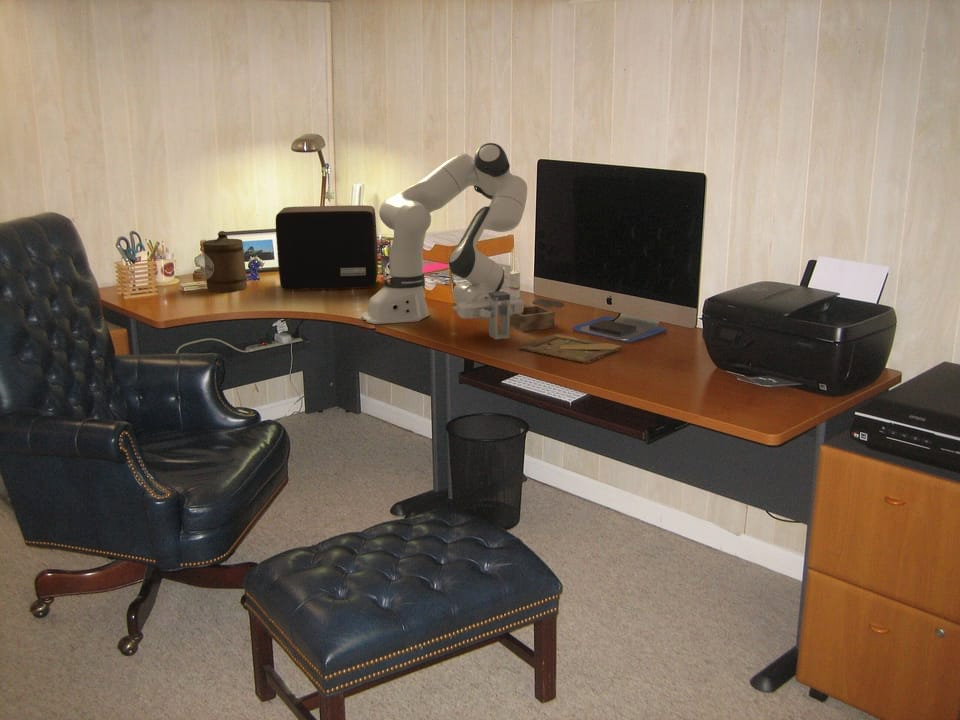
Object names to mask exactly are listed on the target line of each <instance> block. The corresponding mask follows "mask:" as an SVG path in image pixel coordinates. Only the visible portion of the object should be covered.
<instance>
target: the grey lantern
mask: <svg viewBox="0 0 960 720" xmlns="http://www.w3.org/2000/svg"><path fill="white" fill-rule="evenodd" d="M498 301H501V315H500V331H499V316H498ZM489 311H493V317H492V318H488V337H491V338H493V339H494V340H502V339H510V337H511V336H510V327H511V326H510V294H508V293H506V292H504V291H500V292H490V293H489Z"/></svg>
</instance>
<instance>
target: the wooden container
mask: <svg viewBox="0 0 960 720" xmlns="http://www.w3.org/2000/svg"><path fill="white" fill-rule="evenodd" d="M217 236H218V237H217V238H216V239H209V240H205V241H203V242H202V245H203V246H202V247H203V256H204V257H203V258H204V267H205V269H204V270H205V279H206V288H207V290H208V291H209V292H213V293H230V292H231V293H232V292H238V291H239V292H240V291H241V290H243V291H244V290H245V289H246V288H248V283H247V270H246V263H245V255H244V242H243V240H242V239H239V238H229V237H227V236H228V233H227V231H224V230H221V231H220V230H219V231H218V232H217Z"/></svg>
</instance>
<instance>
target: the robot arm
mask: <svg viewBox="0 0 960 720" xmlns="http://www.w3.org/2000/svg"><path fill="white" fill-rule="evenodd" d="M475 151H476V152H475V154H474V158H473V157H472V156H471V155H469V154H468V153H459V154H457V155H455V156H453V157H451V158H450V159H448V160H446V161H445V162H443V163H442V164H441V165H440V166H438V167H437V168H436V169H433V171H431V172H430V173H429V174H428V175H426V176H425V177H424V178H423V179H421V180H420V181H419V182H417V183H415V184H413V185H411V186H409V187H407V188H406V189H404V190H401V191H400V192H399V193H397V194H396V195H393V196H392V197H390V198H386V199H385V200H384V201H382V203H380V207H379V211H378V214H379V219H380V220H381V221H382V223H383V224H384V225H385V226H386V227H387V228H388V229H391V230H392V231H393V238H392V243H391V247H390V248H389V250H388V260H389V261H388V264H389V274H388V275H387V276H385V274H382V275H380V276H379V280H380V281H381V282H383V283H384V286H383V287H382V288H381V289H379V291H377V292H376V293H375V294H374V295H372V296H371V297H370V298H369V300H368V305H367V311H365V312H362V314H361V319H362V318H363V319H364V320H366V321H365V322H366V323H370V324H373V325H379V324H380V325H381V324H397V323H414V322H415V323H416V322H419V321H421V320H422V319H424V318H427V317H428V316H429V315H430V313H429V311H428V305H427V302H426V297H425V290H426V288H425V286H426V282H425V281H426V279H425V278H426V277H425V273H424V269H423V267H424V264H423V263H424V262H423V261H424V260H423V259H424V258H423V256H424V254H423V251H424V250H423V249H424V243H425V238H426V233H427V231H428V230H429V228H430V226H431V223H432V215H431V214H432V212H435V211H437V210H440V209H441V208H443V207H445V206H446V205H447V204H449V203H450V202H451V201H452V200H454V199H455V198H456V197H457V196H459V195H460V194H462V192H463V191H464V190H466V189H467V188H469V187H472V186H473V189H474V191H475V192H477V193H479V194H481V195H482V196H484V197H485V198H486V199H488V200H491V201H490V203H489V205H488V206H483V207H482V208H480V209H478V211H477V212H476V213H475V215H474V217H472V219H471V220H470V223H469V225H468V226H467V228H466V230H465V232H464V234H463V235H462V237H461V239H460V241H459V242H458V244H457V245H456V246H455V248H454V249H453V250H452V252H451V255H450V256H449V258H448V265H449V269H450V272H451V273H452V274H453V275H456V276H457V277H459V278H460V279H464V280H465V281H463V282H458V283H457V284H456V285H455V286H454V288H453V292H452V297H453V301H454V303H455V304H456V305H454V306H452V309H451V310H452V311H454V312H456V315H457V316H458V317H459V318H460V319H464V320H467V319H479V320H487V319H489V318H492V317H493V311H489V293H490V292H500V289H501V287H502V285H503V283H504V269H505V268H504V267H503V266H500V265H499V264H498V263H499V262H496V261H494V260H493V259H492V258H490V257H488V256H486V255H485V254H484V253H482V252H480V251H479V250H478V247H477V243H478V242H479V240H480V239H481V236H482V234H483V233H484V231H485V230H489V231H493V232H496V233H497V232H498V233H505V232H511V231H512V230H514V229H516V228H517V227H518V226H519V224H520V223H521V221H522V219H523V216H524V211H525V207H526V204H527V203H526V202H527V197H528V185H527V182H526V181H525V179H524V178H522V177H521V176H518V175H515V174H512V173H511V170H510V169H511V168H510V167H511V165H510V163H509V162H510V161H509V160H508V159H509V158H508V156H507V153H506V152H505V150H504V148H503V147H502V146H501V145H500V144H498V143H494V142H487V143H483V144H481V145H480V146H479V147H478V148H477V149H476V150H475ZM506 293H508V292H506ZM508 294H509V293H508ZM524 305H525V304H524V301H523V300H522V299H521V298H520V299H519V298H517V297H515V296H511V295H510V316H511V315H512V314H519V313H522V312H523V309H524V307H525V306H524ZM499 316H501V301H498V317H499ZM363 319H362V320H363ZM364 320H363V321H364Z"/></svg>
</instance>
